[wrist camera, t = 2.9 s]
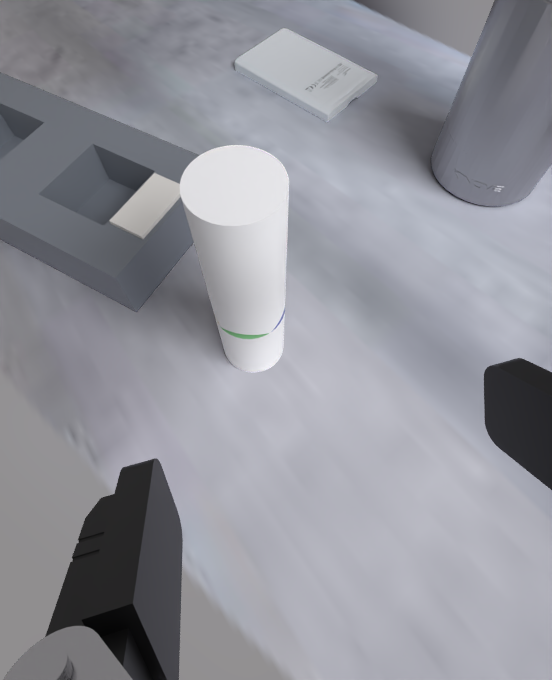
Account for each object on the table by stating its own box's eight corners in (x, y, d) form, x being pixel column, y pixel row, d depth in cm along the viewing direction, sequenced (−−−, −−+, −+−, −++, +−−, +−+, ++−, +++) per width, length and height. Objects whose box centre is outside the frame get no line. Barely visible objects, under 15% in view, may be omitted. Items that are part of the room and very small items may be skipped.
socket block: (-84, 194, 36) (-133, 147, 32) (16, 114, 40) (-15, 63, 36) (136, 312, 31) (113, 275, 27) (223, 205, 35) (215, 159, 31)
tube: (212, 338, 30) (159, 174, 16) (261, 308, 31) (248, 130, 17) (246, 384, 28) (217, 244, 15) (295, 350, 29) (311, 192, 16)
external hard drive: (285, 41, 47) (375, 87, 43) (235, 75, 44) (326, 128, 40) (285, 25, 45) (379, 71, 42) (233, 59, 43) (328, 112, 39)
